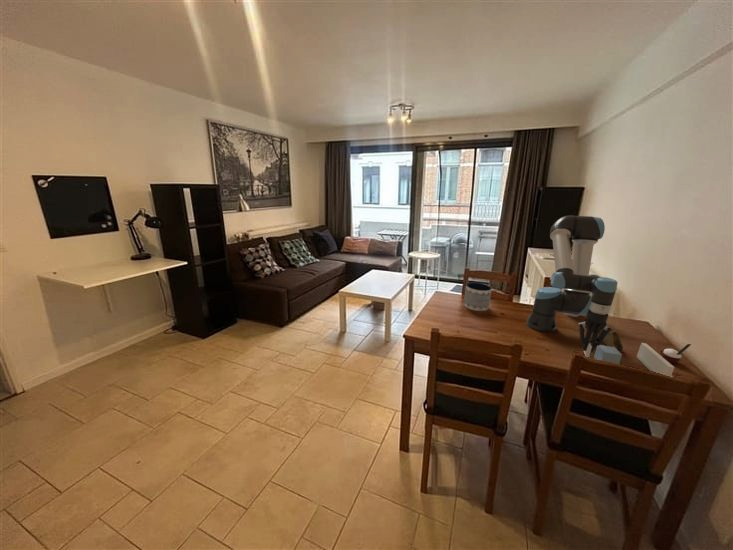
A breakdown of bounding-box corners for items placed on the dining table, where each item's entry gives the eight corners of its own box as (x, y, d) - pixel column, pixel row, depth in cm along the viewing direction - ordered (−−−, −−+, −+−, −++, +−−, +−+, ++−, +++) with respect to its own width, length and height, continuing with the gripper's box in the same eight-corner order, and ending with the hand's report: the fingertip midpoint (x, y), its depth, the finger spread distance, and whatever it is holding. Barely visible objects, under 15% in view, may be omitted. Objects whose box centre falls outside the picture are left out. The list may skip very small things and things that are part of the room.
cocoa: (656, 356, 149) (662, 334, 146) (671, 358, 148) (678, 335, 145) (669, 366, 140) (676, 342, 137) (685, 368, 139) (693, 344, 136)
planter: (461, 301, 210) (464, 281, 206) (485, 303, 208) (488, 283, 204) (465, 310, 195) (468, 289, 191) (491, 312, 193) (494, 291, 189)
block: (600, 365, 140) (604, 352, 137) (593, 357, 146) (597, 344, 144) (617, 368, 138) (622, 355, 136) (610, 359, 144) (614, 347, 142)
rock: (594, 334, 163) (599, 340, 154) (608, 324, 160) (615, 330, 151) (610, 349, 161) (617, 356, 152) (626, 340, 158) (633, 346, 149)
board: (662, 382, 128) (668, 366, 126) (636, 357, 147) (641, 342, 144) (679, 385, 127) (686, 369, 124) (651, 359, 145) (656, 345, 143)
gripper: (585, 312, 135) (572, 358, 142) (619, 316, 131) (605, 363, 138) (579, 306, 141) (567, 350, 149) (611, 310, 138) (597, 355, 145)
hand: (585, 356), depth 143 cm, fingers closed
